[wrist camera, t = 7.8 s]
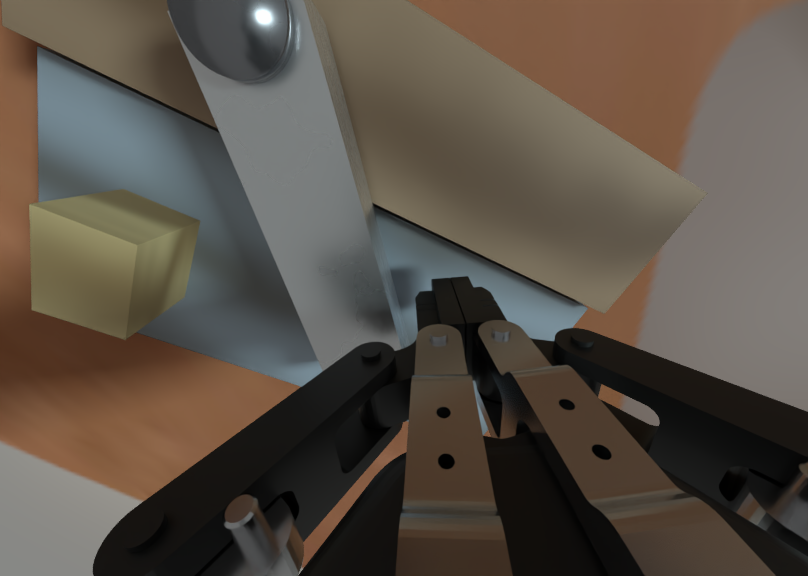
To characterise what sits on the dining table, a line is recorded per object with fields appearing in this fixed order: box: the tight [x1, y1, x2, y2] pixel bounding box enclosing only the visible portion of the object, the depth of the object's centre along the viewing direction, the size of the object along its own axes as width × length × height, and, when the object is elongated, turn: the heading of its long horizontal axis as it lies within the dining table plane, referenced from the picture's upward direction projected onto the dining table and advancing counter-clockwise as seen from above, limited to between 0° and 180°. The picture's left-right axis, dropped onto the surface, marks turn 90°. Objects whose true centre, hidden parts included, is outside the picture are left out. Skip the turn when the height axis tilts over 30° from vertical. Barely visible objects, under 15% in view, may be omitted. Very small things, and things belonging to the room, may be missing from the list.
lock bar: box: [167, 0, 410, 371], centre depth 10 cm, size 14×3×4 cm, turn 13°
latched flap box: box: [1, 0, 707, 435], centre depth 13 cm, size 17×24×6 cm
